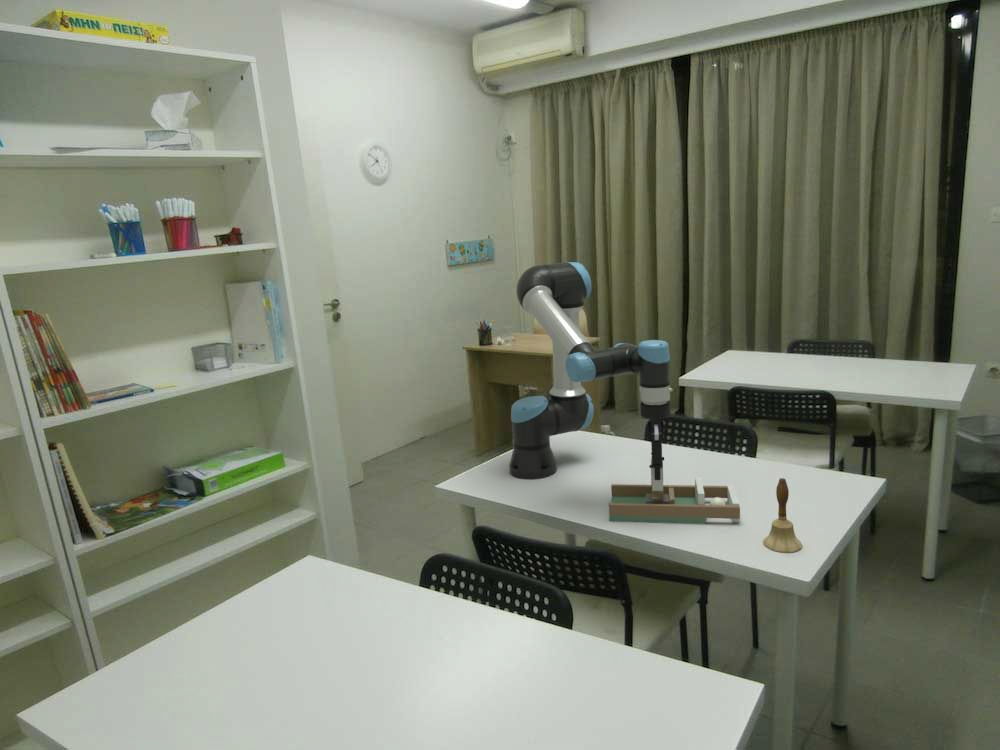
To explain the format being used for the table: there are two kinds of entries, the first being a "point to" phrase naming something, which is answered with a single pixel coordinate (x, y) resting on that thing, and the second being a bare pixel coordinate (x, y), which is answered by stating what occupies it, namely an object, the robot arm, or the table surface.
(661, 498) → the kicker
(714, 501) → the ball
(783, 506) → the hand bell
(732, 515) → the pitch
